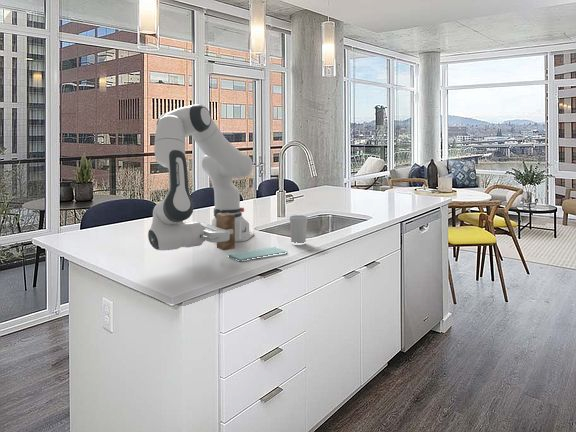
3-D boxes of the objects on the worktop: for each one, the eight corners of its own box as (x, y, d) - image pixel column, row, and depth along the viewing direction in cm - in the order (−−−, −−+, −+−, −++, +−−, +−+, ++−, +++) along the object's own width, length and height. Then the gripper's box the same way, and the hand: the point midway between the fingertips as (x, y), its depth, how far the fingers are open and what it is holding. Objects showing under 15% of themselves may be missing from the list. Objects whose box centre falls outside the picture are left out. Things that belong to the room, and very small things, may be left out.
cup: (311, 244, 222) (311, 217, 220) (298, 246, 217) (298, 219, 215) (298, 241, 228) (299, 214, 226) (285, 243, 223) (285, 216, 220)
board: (240, 261, 191) (240, 259, 191) (228, 256, 198) (228, 254, 198) (287, 253, 204) (287, 251, 204) (274, 249, 211) (274, 247, 211)
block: (223, 250, 189) (222, 215, 186) (216, 247, 192) (216, 213, 190) (235, 248, 191) (234, 214, 189) (228, 245, 195) (227, 212, 193)
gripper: (207, 230, 174) (242, 225, 182) (181, 221, 190) (214, 217, 199) (208, 248, 175) (242, 243, 184) (182, 237, 192) (214, 232, 200)
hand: (227, 229), depth 191 cm, fingers closed on block, 5 cm apart
